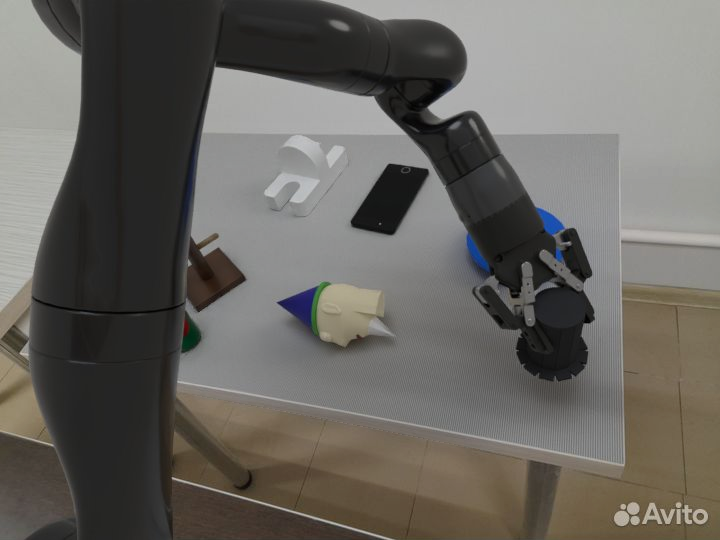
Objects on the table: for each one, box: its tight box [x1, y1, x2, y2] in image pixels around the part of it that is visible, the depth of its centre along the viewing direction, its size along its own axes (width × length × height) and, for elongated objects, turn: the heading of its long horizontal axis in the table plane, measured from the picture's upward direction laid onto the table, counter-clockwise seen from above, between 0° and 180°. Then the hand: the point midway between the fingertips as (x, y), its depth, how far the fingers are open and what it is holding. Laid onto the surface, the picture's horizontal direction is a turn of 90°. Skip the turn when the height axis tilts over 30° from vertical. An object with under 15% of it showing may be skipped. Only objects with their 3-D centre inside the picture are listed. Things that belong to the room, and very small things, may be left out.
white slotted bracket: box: [263, 134, 349, 218], centre depth 104 cm, size 10×18×11 cm, turn 152°
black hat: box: [515, 286, 589, 383], centre depth 60 cm, size 8×8×9 cm
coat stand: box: [186, 232, 247, 313], centre depth 88 cm, size 11×10×20 cm
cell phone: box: [350, 163, 430, 235], centre depth 100 cm, size 9×18×1 cm, turn 154°
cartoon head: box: [276, 281, 397, 348], centre depth 80 cm, size 9×10×20 cm
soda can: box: [181, 309, 201, 352], centre depth 82 cm, size 5×5×12 cm
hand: (567, 336), depth 58 cm, fingers closed on black hat, 5 cm apart
